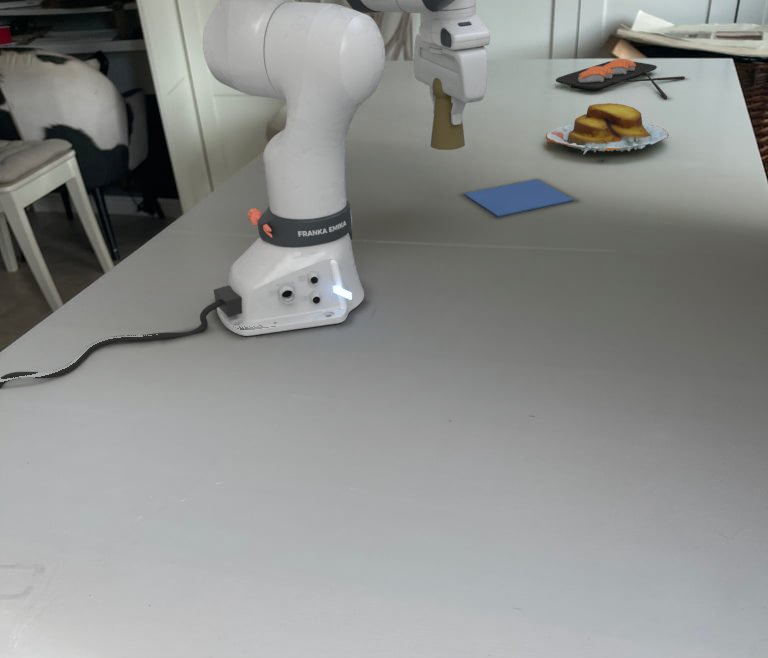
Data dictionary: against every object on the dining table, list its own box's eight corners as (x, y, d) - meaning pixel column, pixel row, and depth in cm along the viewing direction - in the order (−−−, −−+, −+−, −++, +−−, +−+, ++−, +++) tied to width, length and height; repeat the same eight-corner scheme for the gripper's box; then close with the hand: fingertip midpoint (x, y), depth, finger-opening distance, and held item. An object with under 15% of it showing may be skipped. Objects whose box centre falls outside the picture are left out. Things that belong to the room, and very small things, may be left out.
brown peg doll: (462, 150, 138) (463, 79, 131) (427, 149, 139) (427, 79, 132) (467, 139, 142) (468, 70, 135) (433, 139, 144) (432, 70, 136)
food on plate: (531, 158, 170) (533, 124, 166) (562, 125, 187) (564, 94, 183) (655, 168, 161) (661, 133, 157) (675, 133, 178) (681, 100, 174)
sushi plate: (615, 66, 227) (617, 51, 224) (712, 81, 210) (715, 65, 207) (550, 87, 213) (551, 71, 210) (648, 106, 195) (651, 88, 193)
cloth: (497, 217, 146) (497, 215, 146) (464, 195, 155) (464, 193, 155) (573, 200, 150) (573, 199, 150) (536, 180, 159) (536, 179, 159)
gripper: (403, 19, 136) (405, 108, 145) (459, 39, 121) (457, 137, 130) (437, 14, 137) (437, 103, 146) (496, 34, 123) (492, 131, 132)
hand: (447, 119), depth 138 cm, fingers closed on brown peg doll, 4 cm apart
